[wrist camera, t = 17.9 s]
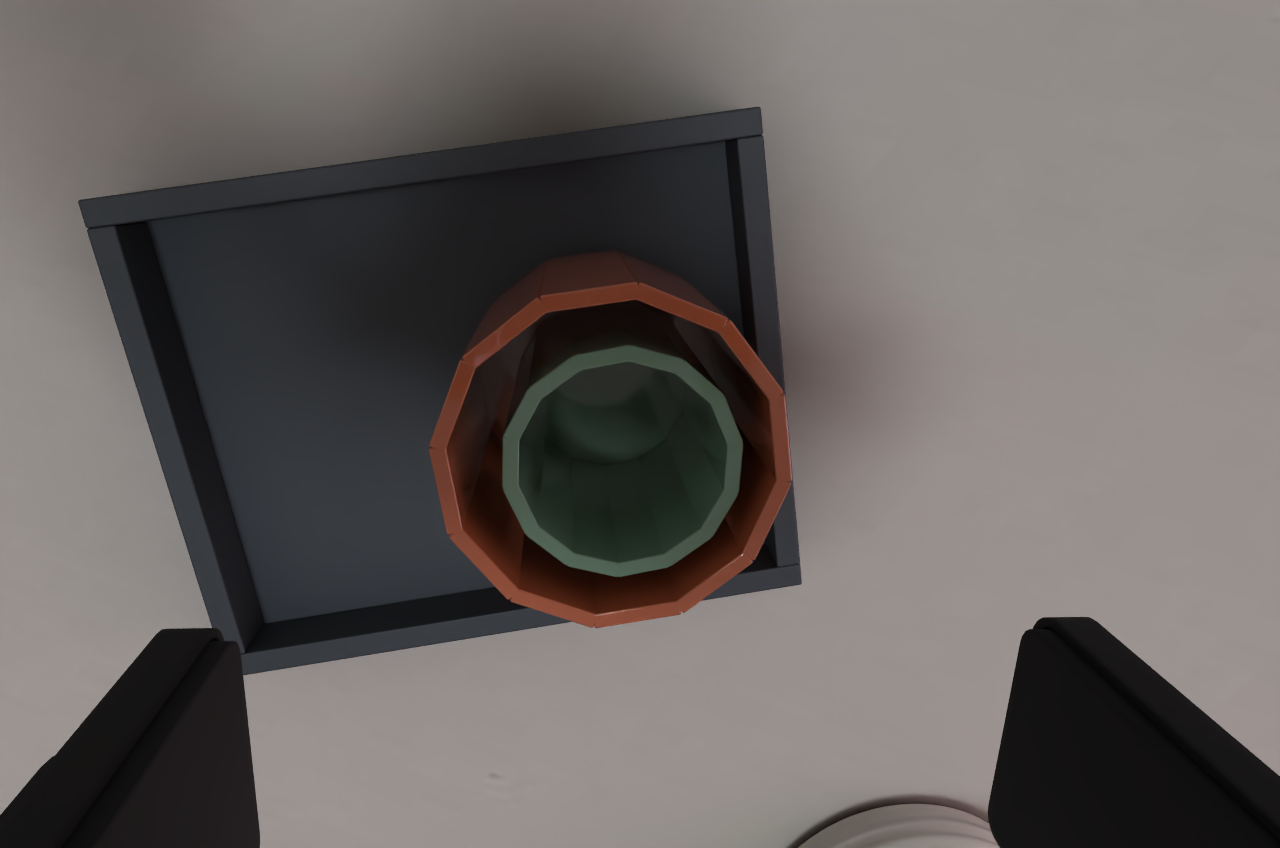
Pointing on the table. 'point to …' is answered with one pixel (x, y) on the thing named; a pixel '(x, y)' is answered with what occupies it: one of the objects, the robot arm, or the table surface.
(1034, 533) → the table surface
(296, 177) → the tray
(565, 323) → the sage cup
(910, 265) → the table surface
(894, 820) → the jar
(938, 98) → the table surface
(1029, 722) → the robot arm
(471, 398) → the terracotta cup
